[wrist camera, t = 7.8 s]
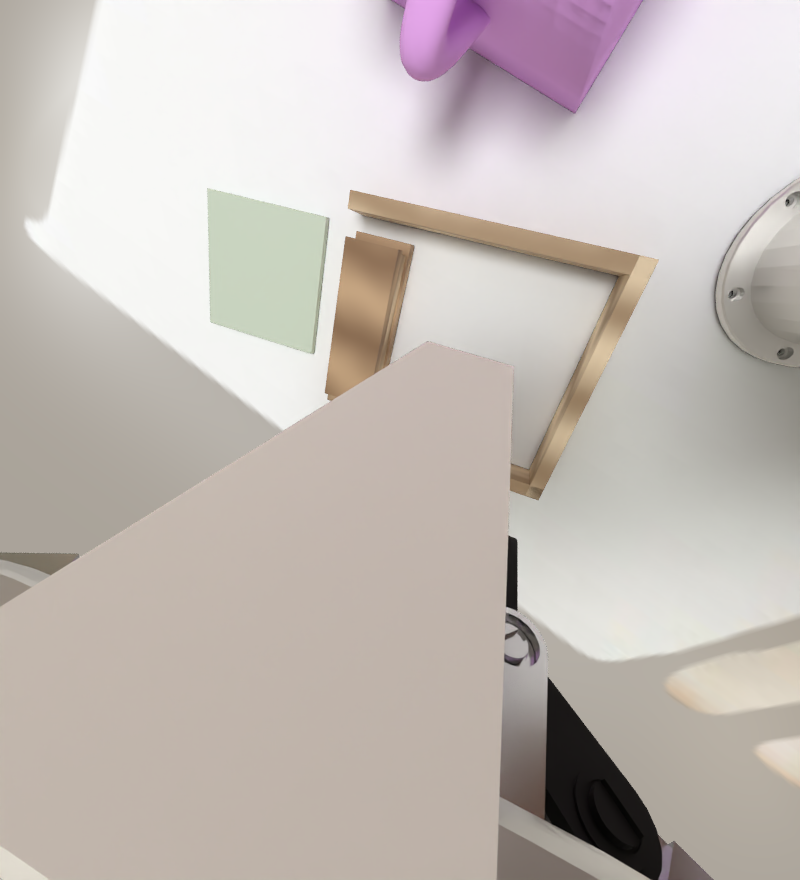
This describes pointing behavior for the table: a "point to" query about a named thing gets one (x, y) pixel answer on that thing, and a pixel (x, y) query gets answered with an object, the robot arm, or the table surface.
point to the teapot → (517, 39)
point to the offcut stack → (366, 309)
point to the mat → (265, 269)
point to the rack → (623, 264)
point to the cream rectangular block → (280, 657)
